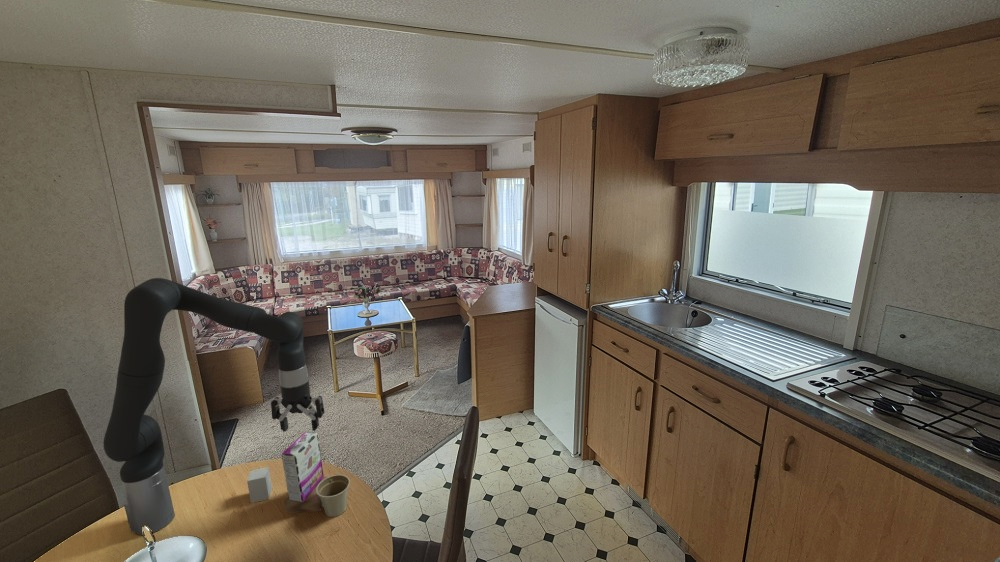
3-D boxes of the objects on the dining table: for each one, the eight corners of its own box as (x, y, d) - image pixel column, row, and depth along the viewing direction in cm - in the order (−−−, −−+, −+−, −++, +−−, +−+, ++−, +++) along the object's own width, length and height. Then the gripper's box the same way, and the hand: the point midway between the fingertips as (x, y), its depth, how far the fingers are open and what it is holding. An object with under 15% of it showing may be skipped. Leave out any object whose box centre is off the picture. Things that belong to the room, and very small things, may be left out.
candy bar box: (310, 475, 135) (304, 431, 131) (324, 477, 134) (318, 432, 130) (287, 501, 124) (280, 453, 120) (302, 503, 123) (295, 455, 119)
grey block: (251, 502, 129) (247, 480, 127) (254, 491, 134) (250, 470, 132) (268, 499, 130) (265, 477, 129) (271, 488, 135) (268, 467, 133)
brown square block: (286, 512, 125) (284, 501, 124) (299, 488, 135) (298, 478, 134) (320, 511, 126) (318, 499, 125) (331, 487, 135) (329, 476, 134)
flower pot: (324, 527, 120) (321, 502, 118) (315, 508, 127) (312, 483, 125) (357, 511, 125) (354, 486, 123) (346, 493, 133) (343, 470, 130)
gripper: (262, 387, 116) (270, 438, 120) (314, 385, 117) (320, 436, 121) (275, 375, 124) (281, 423, 127) (323, 373, 125) (329, 421, 128)
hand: (300, 429), depth 124 cm, fingers open, 8 cm apart
